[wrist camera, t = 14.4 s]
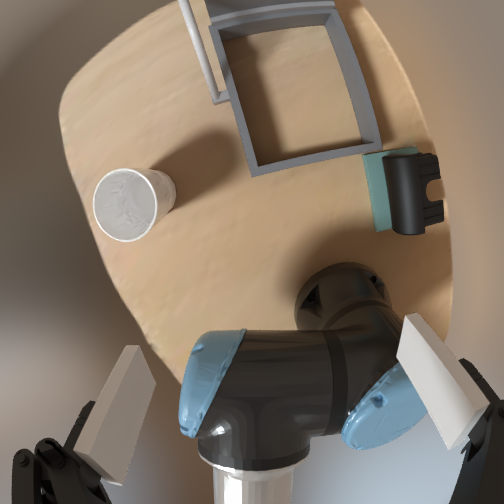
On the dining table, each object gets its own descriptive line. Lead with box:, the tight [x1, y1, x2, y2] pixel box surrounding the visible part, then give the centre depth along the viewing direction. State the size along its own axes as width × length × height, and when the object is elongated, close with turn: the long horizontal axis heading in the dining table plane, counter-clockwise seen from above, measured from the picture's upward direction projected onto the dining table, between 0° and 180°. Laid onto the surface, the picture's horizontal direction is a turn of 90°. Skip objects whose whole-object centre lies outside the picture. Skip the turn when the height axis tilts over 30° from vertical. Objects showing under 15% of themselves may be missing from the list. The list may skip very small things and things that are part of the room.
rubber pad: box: [362, 147, 418, 232], centre depth 35 cm, size 11×9×1 cm
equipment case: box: [178, 0, 383, 177], centre depth 22 cm, size 23×19×21 cm
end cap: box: [382, 153, 444, 235], centre depth 32 cm, size 10×7×7 cm
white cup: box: [93, 168, 176, 242], centre depth 31 cm, size 8×8×10 cm
